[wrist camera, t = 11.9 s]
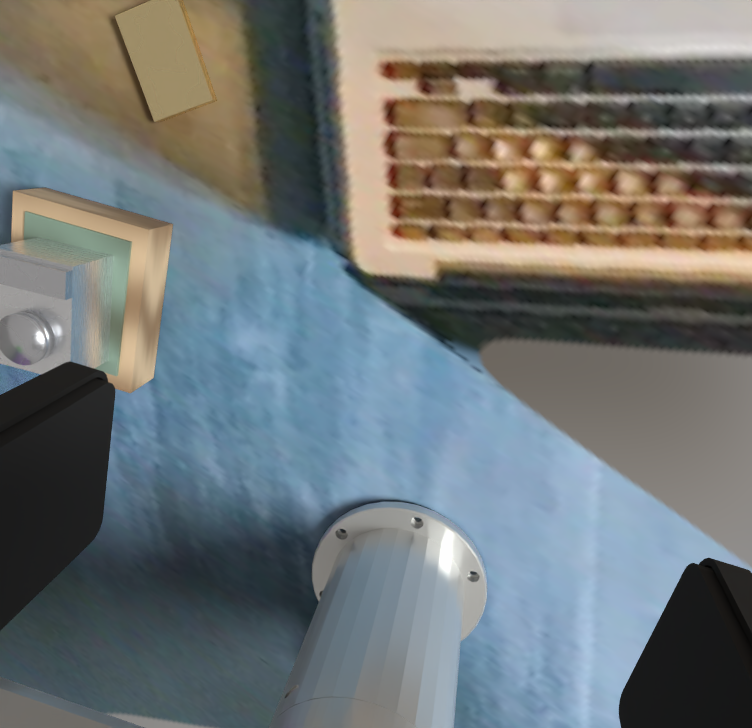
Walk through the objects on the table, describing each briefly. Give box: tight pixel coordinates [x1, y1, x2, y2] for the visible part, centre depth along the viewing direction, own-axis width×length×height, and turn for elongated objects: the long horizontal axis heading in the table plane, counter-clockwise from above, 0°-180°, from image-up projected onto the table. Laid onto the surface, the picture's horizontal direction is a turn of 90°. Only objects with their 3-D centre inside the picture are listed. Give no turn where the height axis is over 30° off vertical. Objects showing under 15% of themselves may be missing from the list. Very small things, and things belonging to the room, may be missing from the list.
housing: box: [0, 237, 113, 374], centre depth 38 cm, size 7×5×5 cm
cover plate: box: [115, 0, 217, 122], centre depth 38 cm, size 6×4×1 cm, turn 18°
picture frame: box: [11, 188, 173, 393], centre depth 42 cm, size 11×9×3 cm
